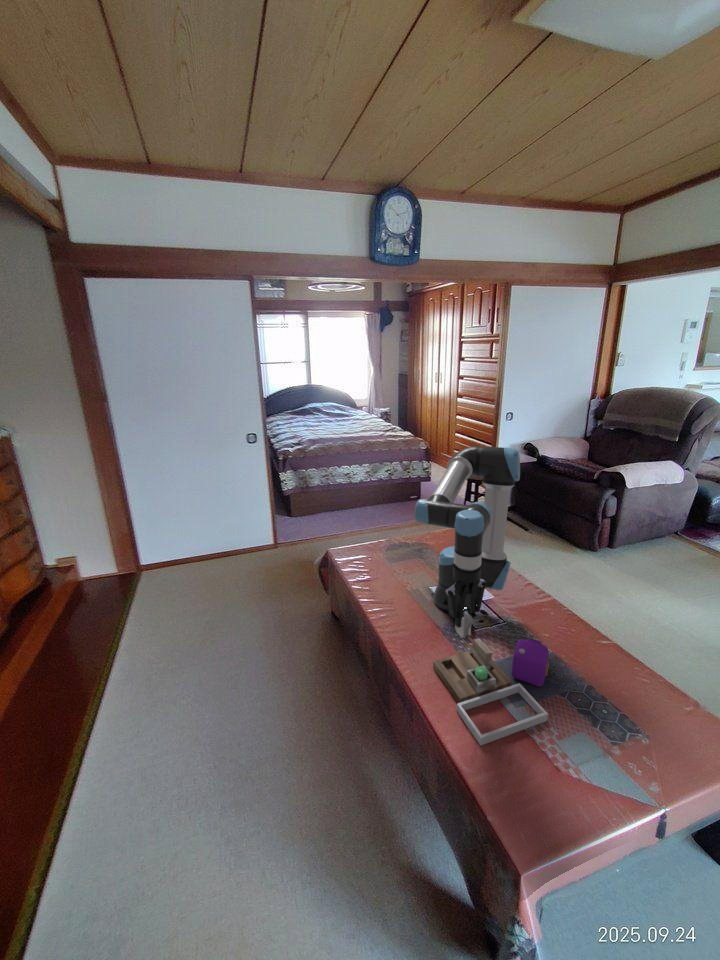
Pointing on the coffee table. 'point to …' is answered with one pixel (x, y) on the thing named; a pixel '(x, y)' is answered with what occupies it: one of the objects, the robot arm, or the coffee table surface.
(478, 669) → the button
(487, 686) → the station
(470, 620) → the lighter
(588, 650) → the coffee table surface
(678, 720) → the coffee table surface
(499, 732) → the rectangular frame
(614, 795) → the coffee table surface
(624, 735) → the coffee table surface
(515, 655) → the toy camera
